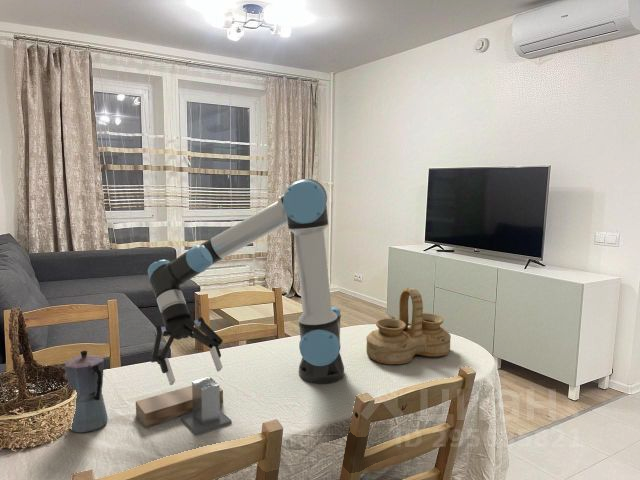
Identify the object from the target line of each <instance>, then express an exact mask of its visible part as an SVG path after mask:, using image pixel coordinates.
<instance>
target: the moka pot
mask: <svg viewBox="0 0 640 480" xmlns="http://www.w3.org/2000/svg"><path fill="white" fill-rule="evenodd" d="M104 366H105V361H104V356H102V355H96V354H88V350H82V351H80V355H76V356H73V357H71V359H69V360H67V361H65V363H64V371H65V375H66V379H67V383H68V386H69V385H70V386H71V387H72V388H73V389H74V390H76V392H77V398H76V409H75V410H76V411H75V414H74V418H73V423H72V430H73V431H72V430H71V431H72V432H74V433H86V432H92V431H95V430H99V429H101V428H102V427H103V426H104V425H106V424H107V422H108V420H109V419H108V418H109V417H108V413H107V409H106V405H105V401H104V396H103V393H102V392H103V389H102V388H103V383H104V382H103V381H104Z"/></svg>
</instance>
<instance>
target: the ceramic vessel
mask: <svg viewBox="0 0 640 480" xmlns="http://www.w3.org/2000/svg"><path fill="white" fill-rule="evenodd" d="M409 299H411V303H412V305H411V306H412V312H411V322H410V323H411V325H409ZM398 304H399V305H398V307H399V308H398V309H399V310H398V313H399V316H398V317H399V318H389V317H388V318H387V317H386V318H385V317H384V318H381V319H378V320H376V322H375V325H376V327H377V328H378V329H375V330H372V331H371V332H370V333H368V334H367V336H366V355H367V357H369V358H370V359H372V360H373V361H375V362H377V363H380V364H386V365H403V364H407V363H409V362H411V361H412V360H413V358H414V356H416V355H417V356H422V357H441V356H442V357H443V356H446V355H448V354H449V353H450V352H451V334H450V332H449V331H448V330H447V329H445V328H444V327H442V326H441V325H442V324H443V323H444V318H443V317H442V316H440V315H437V314H434V313H427V312H424V303H423V298H422V295H421V293H420V292H419V290H418V289H417V288H413V287H407V288H404V289H403V290H402V291H401V293H400V295H399V302H398Z"/></svg>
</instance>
